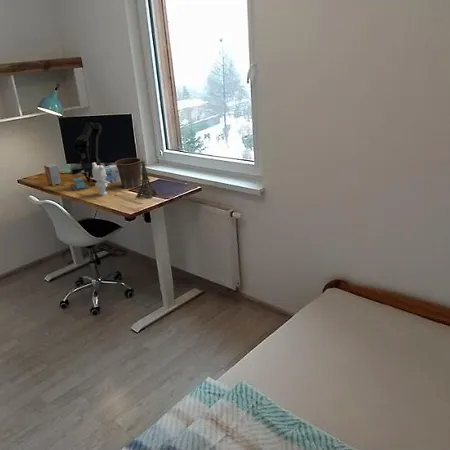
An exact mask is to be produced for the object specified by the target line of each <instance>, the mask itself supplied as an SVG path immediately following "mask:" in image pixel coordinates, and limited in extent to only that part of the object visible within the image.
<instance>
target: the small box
mask: <svg viewBox="0 0 450 450" xmlns="http://www.w3.org/2000/svg"><path fill="white" fill-rule="evenodd" d="M43 167H44V173H45V177H46V182H47V184H48V183H49V184H52V185H54V184H59V183H61V184H62V180H61V176H60V170H59V166H58V164H55V163H49V164H45V165H43ZM49 184H48V185H49ZM52 185H51V186H52ZM59 185H60V184H59Z"/></svg>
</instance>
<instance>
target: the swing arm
mask: <svg viewBox="0 0 450 450" xmlns="http://www.w3.org/2000/svg"><path fill="white" fill-rule="evenodd" d="M85 183H86V182H84V180H83V178H82V177H80V176H77V177H74V178H73V185H75V186H76V187H77V189H78V188H84V187H85Z"/></svg>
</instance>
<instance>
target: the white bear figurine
mask: <svg viewBox="0 0 450 450" xmlns="http://www.w3.org/2000/svg"><path fill="white" fill-rule="evenodd" d="M92 167H93V169H92V174H93V177H94V178H91V177H90V180H91V179H94V180H96V181H97V182H95V184H94V185H95V187H96V188H97V190H98V191H99V192H98V195H100V196H107V195H108V192H107V191H106V188H107V187H108V185H107V183H111V182H107V181H106V180H104V179H106V176H107V175H106V171H105V169H104V167H105V166H104V165H102V164H101V165H100V166H99V165H97V164H96V163H95V162H94V163H92Z"/></svg>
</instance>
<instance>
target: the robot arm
mask: <svg viewBox="0 0 450 450" xmlns="http://www.w3.org/2000/svg"><path fill="white" fill-rule="evenodd" d="M102 129H103V126H102V125H101V123H99V122H98V123H97V122H96V123H95V122H85V125H84V128H83V131H82V132H81V134H80V135H79V136H78V137H77V138H76V139H75V141H74V150H73V151H74V154H73V155H72V159H73V161H74V162H76V163H80V166H81V168H78V167H73V168H71V169H70V172H71V174H72V175H78V174H79V173H80V174H81V175H83V176H84V177H85V179H86V181H87V183H90V181H91V182H93V183H96V182H97V181H96V180H94V179H91V178H94V177H93V174H92V169H93V167H92V163H94V162H95V163H96V164H97V165H99V166H100V165H102V164H101V161H100V159H99V137H100V136H101V134H102ZM89 139H90V141H89ZM89 145H90V146H89ZM89 147H90V155H89Z"/></svg>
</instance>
